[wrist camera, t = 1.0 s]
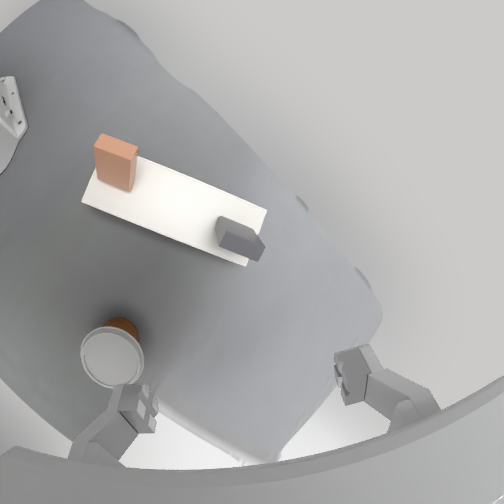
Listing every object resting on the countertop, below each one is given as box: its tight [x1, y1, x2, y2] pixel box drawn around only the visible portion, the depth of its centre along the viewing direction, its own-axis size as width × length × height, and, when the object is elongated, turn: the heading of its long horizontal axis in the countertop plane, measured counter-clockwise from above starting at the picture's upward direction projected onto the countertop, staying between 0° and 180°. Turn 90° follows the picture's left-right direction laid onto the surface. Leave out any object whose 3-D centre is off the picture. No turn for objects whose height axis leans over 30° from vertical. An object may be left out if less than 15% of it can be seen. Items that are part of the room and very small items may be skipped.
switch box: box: [81, 156, 267, 267], centre depth 44 cm, size 9×26×8 cm, turn 69°
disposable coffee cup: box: [80, 318, 144, 389], centre depth 40 cm, size 10×10×12 cm
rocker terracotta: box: [93, 134, 138, 192], centre depth 33 cm, size 2×5×9 cm, turn 68°
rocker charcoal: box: [215, 216, 265, 262], centre depth 38 cm, size 2×5×9 cm, turn 68°
